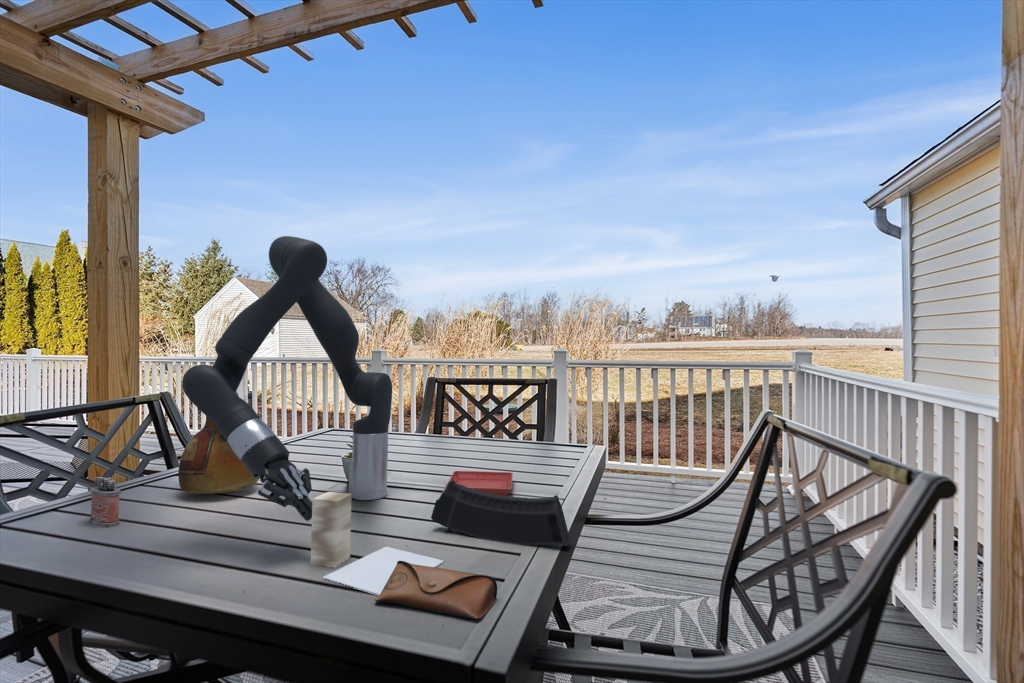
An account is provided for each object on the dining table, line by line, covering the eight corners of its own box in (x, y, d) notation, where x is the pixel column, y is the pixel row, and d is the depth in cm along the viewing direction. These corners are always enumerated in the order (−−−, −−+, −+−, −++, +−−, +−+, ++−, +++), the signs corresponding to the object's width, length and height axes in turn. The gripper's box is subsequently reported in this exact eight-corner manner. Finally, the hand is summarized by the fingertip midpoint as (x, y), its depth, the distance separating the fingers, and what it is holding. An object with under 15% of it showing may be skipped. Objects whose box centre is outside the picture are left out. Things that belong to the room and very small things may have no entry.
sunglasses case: (370, 600, 79) (383, 554, 82) (388, 605, 85) (399, 562, 88) (481, 620, 74) (490, 571, 78) (492, 624, 80) (500, 578, 83)
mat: (322, 578, 88) (322, 577, 88) (385, 548, 102) (385, 546, 102) (386, 598, 82) (386, 596, 82) (444, 562, 96) (444, 560, 96)
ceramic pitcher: (239, 479, 153) (242, 379, 153) (275, 491, 141) (279, 382, 142) (164, 493, 137) (168, 381, 137) (198, 508, 125) (202, 385, 126)
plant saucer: (511, 500, 139) (512, 487, 139) (445, 498, 139) (445, 486, 139) (512, 483, 157) (512, 472, 157) (453, 481, 157) (454, 470, 157)
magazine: (583, 503, 104) (456, 449, 114) (579, 508, 101) (449, 452, 111) (557, 581, 106) (434, 520, 116) (553, 587, 103) (427, 525, 112)
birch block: (310, 565, 93) (312, 498, 94) (326, 554, 98) (327, 491, 99) (335, 568, 92) (337, 501, 93) (349, 557, 97) (351, 493, 98)
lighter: (123, 524, 113) (125, 478, 113) (106, 528, 110) (107, 481, 110) (102, 518, 116) (104, 474, 117) (85, 522, 113) (86, 477, 113)
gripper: (245, 440, 92) (304, 514, 89) (292, 429, 105) (345, 494, 102) (219, 467, 93) (276, 542, 90) (269, 454, 106) (320, 518, 103)
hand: (313, 516), depth 96 cm, fingers closed
